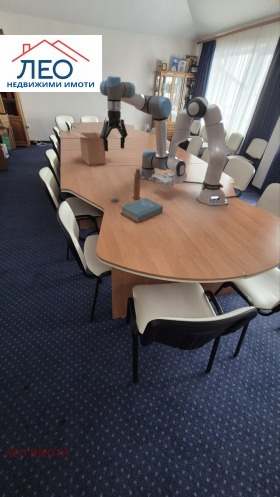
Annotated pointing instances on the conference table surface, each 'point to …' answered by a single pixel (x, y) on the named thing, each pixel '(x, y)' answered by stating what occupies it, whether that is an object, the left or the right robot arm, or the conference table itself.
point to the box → (92, 147)
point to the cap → (114, 199)
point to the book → (141, 209)
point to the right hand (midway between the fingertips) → (152, 181)
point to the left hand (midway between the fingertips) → (114, 149)
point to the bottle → (137, 184)
